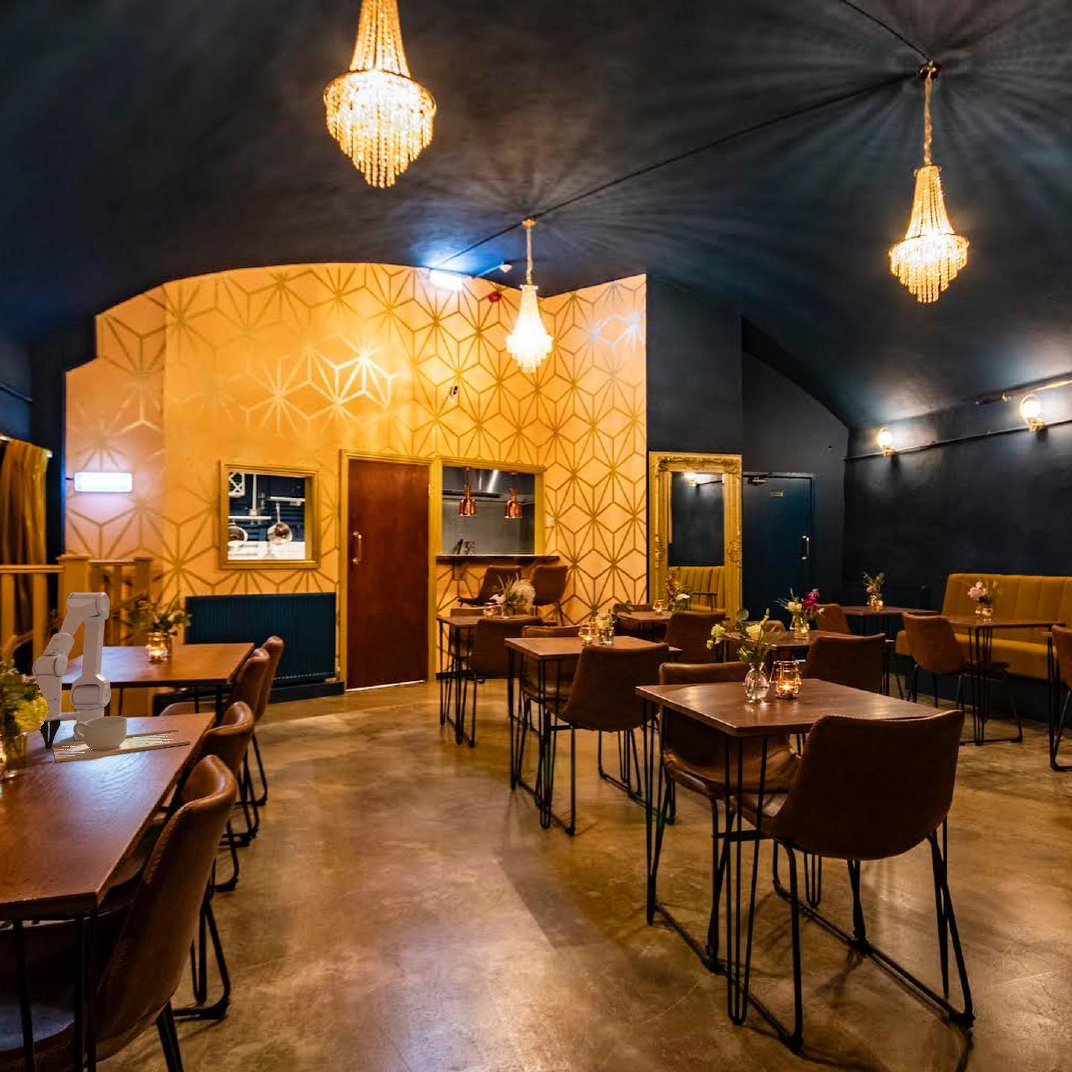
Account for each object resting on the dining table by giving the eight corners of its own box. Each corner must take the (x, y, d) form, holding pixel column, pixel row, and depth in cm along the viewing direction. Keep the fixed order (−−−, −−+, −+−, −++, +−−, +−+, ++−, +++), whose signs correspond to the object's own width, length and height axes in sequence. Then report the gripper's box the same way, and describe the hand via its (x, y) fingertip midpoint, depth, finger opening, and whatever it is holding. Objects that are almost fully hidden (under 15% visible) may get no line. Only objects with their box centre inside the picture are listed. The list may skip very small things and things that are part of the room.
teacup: (135, 743, 218) (135, 716, 219) (110, 753, 208) (110, 724, 208) (90, 742, 220) (90, 715, 220) (63, 752, 209) (63, 723, 209)
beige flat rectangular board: (52, 747, 215) (52, 744, 215) (177, 731, 234) (177, 728, 234) (56, 762, 200) (56, 758, 200) (190, 744, 219) (190, 740, 219)
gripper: (17, 704, 199) (16, 755, 199) (81, 698, 208) (80, 747, 207) (17, 700, 205) (16, 750, 205) (79, 694, 214) (78, 742, 213)
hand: (48, 748), depth 206 cm, fingers closed
